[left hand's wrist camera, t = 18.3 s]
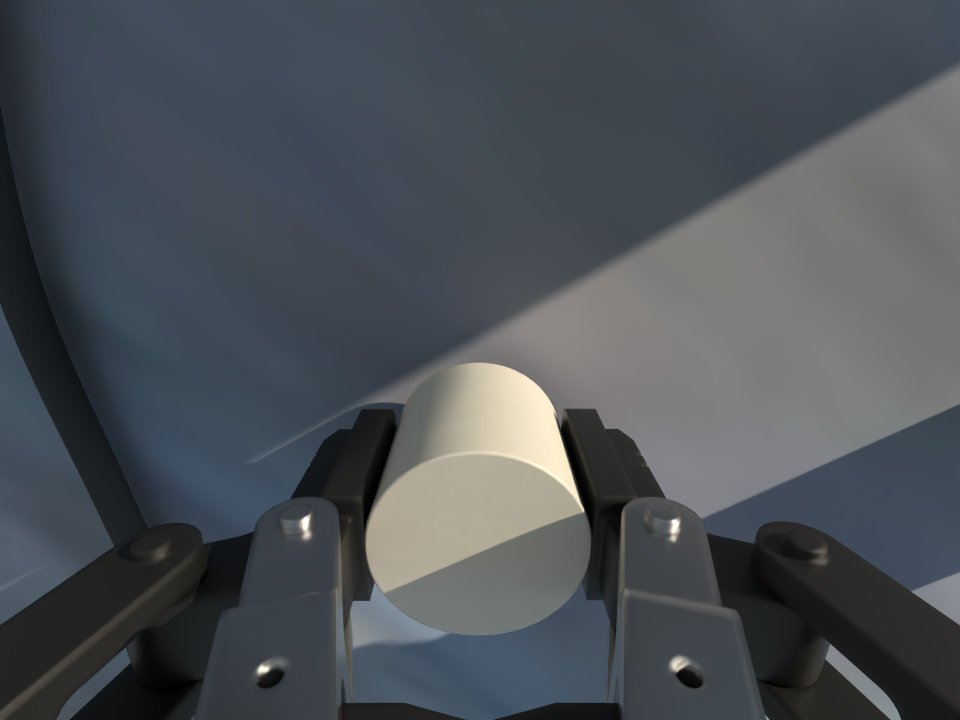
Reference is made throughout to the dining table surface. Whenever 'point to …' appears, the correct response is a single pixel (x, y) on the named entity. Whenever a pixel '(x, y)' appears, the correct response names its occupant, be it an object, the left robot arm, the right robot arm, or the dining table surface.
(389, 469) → the cream short cylinder
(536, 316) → the dining table surface
